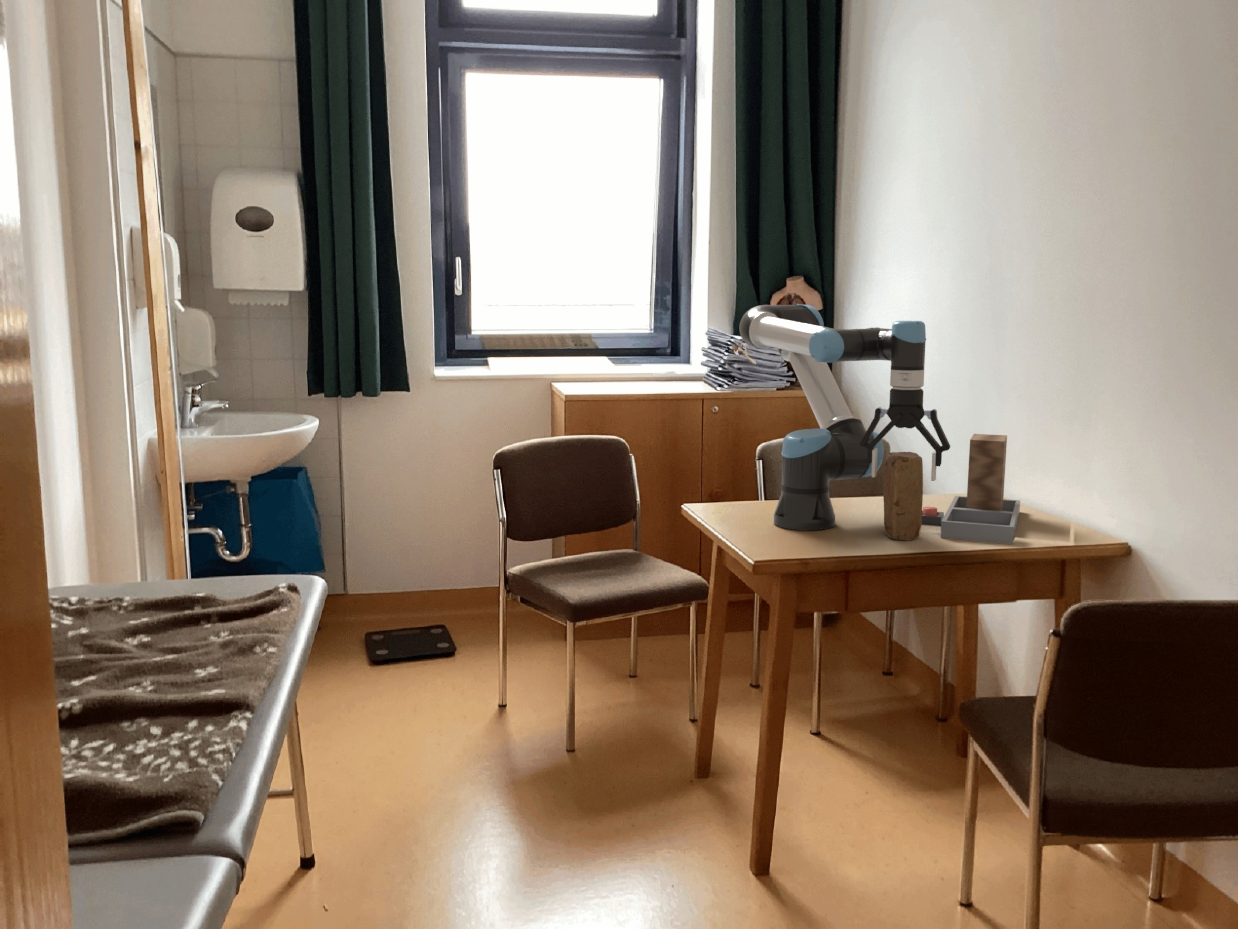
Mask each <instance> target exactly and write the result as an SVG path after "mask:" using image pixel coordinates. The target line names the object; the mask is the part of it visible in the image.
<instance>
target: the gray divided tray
mask: <svg viewBox="0 0 1238 929" xmlns="http://www.w3.org/2000/svg"><path fill="white" fill-rule="evenodd" d="M966 507H967V496H963V495H954V498H953V500H951V503H950V505H949V507H948V508H947V510H946V512H945V513H944V517H943V519H942V521H941V525H940V539H951V540H961V541H974V542H984V543H985V542H986V543H997V544H1007V545H1008V544H1009V545H1013V544H1014V540H1015V533H1016V529H1017V524H1018V520H1019V518H1020V517H1019V516H1020V512H1021V511H1020V510H1021V500H1020V499H1019V500H1018V499H1004V498H1003V511H995V510H982V509H969V508H966Z"/></svg>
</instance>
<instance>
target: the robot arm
mask: <svg viewBox="0 0 1238 929" xmlns="http://www.w3.org/2000/svg"><path fill="white" fill-rule="evenodd" d="M824 325H825V324H824V320H823V317H822V315H821V313H820V312H819V310H817V309H816V308H815V307H814V306H812V305H809V304H803V303H793V304H762V305H757V306H754V307H751V308H750V309H749V310H747V311H746V312H745V313H743V316H742V318H741V319H740V322H739V327H738V328H739V335H740V337H741V339H742V340H743V341H744V343H745V344H747V345H748V346H749V347H752V348H755V349H760V350H766V349H777V350H778V352H779V355H780V356H781V359H782V360H784V361H786V362H789V363H790V364H791V367H792V369H793V371H794V374H795V375H796V377H797V380H798V382H799V384H800V386H801V388H802V391H803V392H804V395H805V398H806V400H807V402H808V404H809V405H810V408H811V411H812V412H813V414H814V417H815V419H816V421H817V424H818V426H819V428H806V429H799V430H793V431H791V432H789V433H787V434H786V435H785V437H784V438H783V440H782V448H781V449H782V450H781V456H782V457H781V493H780V496H779V499H778V502H777V505H776V508H775V511H774V513H773V524H774V525H775V526H777V527H780V528H783V529H787V530H794V531H795V530H796V531H821V530H822V531H823V530H829V529H831V528H834V527H835V526H836V514H835V510H834V507H833V505H832V500H831V497H830V481H839V480H850V479H851V480H852V479H863V478H867V477H871V478H876V477H877V474H878V471H879V469H880V467H881V466H882V463H883V461H884V460H883V458H884V450H885V448H884V443H883V438H884V437H885V436H886V435H887V434H888V433H889V432H890V431H891V430H892V429H893V428H894V427H896V428H898V429H903V428H905V429H913V428H915V429H917V431H919V433H920V434H921V435H922V437H923V438H924V439H925V440H926V441H927V442H928V444H929V445H930V447H932V449H933V450H934V451H933V452H932V453H931V454H932V455H931V473H930V474H931V475H930V476H931V477H930V481H931V482H935V481H936V480H937V479H936V478H937V467H941V465H942V458H943V457H942V456H943V452H946V451H949V450H950V449H951V444H950V442H949V440H948V438H947V436H946V434H945V431H944V429H943V427H942V425H941V422H940V421H939V419H938V411H937V409H936V408H933V409H931V410H928V409H927V410H925V409H924V390H923V387H924V385H925V360H926V341H927V338H926V335H927V334H926V324H925V323H924V322H923V321H921V320H896V321H893V322H892V325H891V328H883V327H882V328H881V327H877V326H876V327H867V328H852V329H849V328H848V329H847V328H846V329H844V328H843V329H840V328H832V327H828V326H824ZM860 361H861V362H864V361H865V362H866V361H889V362H890V377H889V378H890V380H889V386H890V387H892V388H890V389H889V405H888V408H887V409H886V408H882V407H881V406H879V407H876V408H875V411H874V416H873V419H872V421H871V422H870V424H869V426H868V428H867V429H866V427H865V425H864V423H863V422H862V420H861V419H860V418H858V417H855V416H853V415H852V412H851V410H850V408H849V406H848V404H847V402H846V400H845V398H844V396H843V393H842V392H841V390H840V387H839V386H838V383H837V382H836V379H835V377H834V374H833V373H832V371H831V369H830V366H829V365H828V363H829V364H831V363H837V362H839V363H841V362H860ZM885 415H887V416H888V417H887V418H889V419H890V421H889V422H888V424H886V426H885V427H883V429H882V430H881V431H880V432H879V433H878V432H876V431H875V429H876V428H877V426H878V424H879V422H880V420H881V419H882V418H884V417H885ZM924 417H927V419H928V420H930V421H931V422H930V423H931V424H932V426H933V428H934V431H935V433H936V435H937V437H938V439H939V441H940V443H939V442H938V441H937V440H936V439H935V437H934V436H933V434H931V433H930V431H929V430H928V429H927V427H926V426H925V424H924V423H923V422H922V419H923V418H924ZM940 444H941V445H940Z"/></svg>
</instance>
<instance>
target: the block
mask: <svg viewBox="0 0 1238 929" xmlns="http://www.w3.org/2000/svg"><path fill="white" fill-rule="evenodd" d="M923 465H924V464H923V458H922V456H920V455H919V454H918V453H916V452H912V451H895V452H894V451H893V452H890V453H889V454H888V455H887V457H886V461H885V464H884V471H883V481H882V482H883V488H882V489H883V490H882V491H883V492H882V495H883V526H884V532H885V534H886V536H887V537H889V538H890V539H893V540H896V541H899V540H900V541H912V540H916V539H918V538H919V537H920V534H921V529H922V524H921V522H922V511H923V501H924V500H923V496H924V495H923V494H924V481H923V479H924V478H923V477H924V473H923V471H924V469H923V468H924V466H923Z"/></svg>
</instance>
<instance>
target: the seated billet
mask: <svg viewBox="0 0 1238 929" xmlns="http://www.w3.org/2000/svg"><path fill="white" fill-rule="evenodd" d="M1007 440H1008V435H1004V434H986V433H985V434H984V433H973V435H972V436H971V437H970V439H969V455H968V471H967V473H968V474H967V475H968V476H967V487H966V488H967V491H966V497H967V507H966V508H969V509H982V510H995V511H1003V499H1004V495H1005V494H1004V492H1005V476H1006V459H1007V458H1006V457H1007V445H1008V444H1007V442H1008V441H1007Z"/></svg>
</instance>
